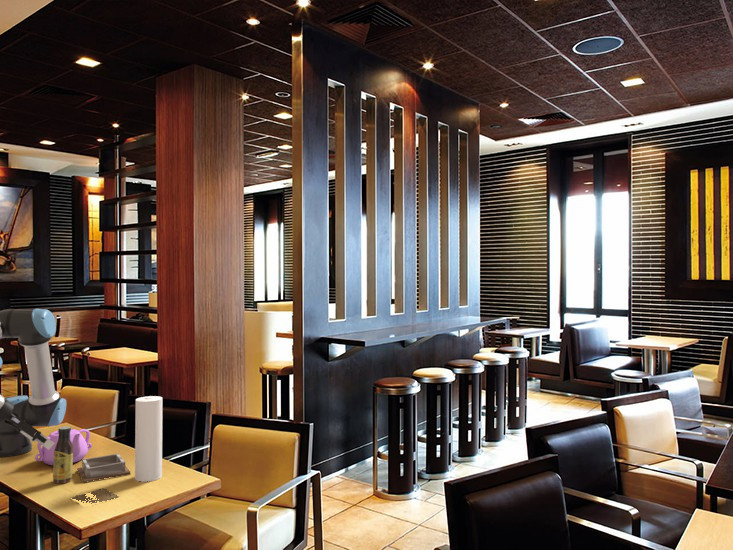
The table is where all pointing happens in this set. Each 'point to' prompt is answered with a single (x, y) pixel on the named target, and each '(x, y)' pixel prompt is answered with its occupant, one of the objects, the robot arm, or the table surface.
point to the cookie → (97, 496)
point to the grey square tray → (102, 467)
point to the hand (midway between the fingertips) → (44, 442)
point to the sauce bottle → (63, 457)
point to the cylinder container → (148, 438)
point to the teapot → (77, 441)
